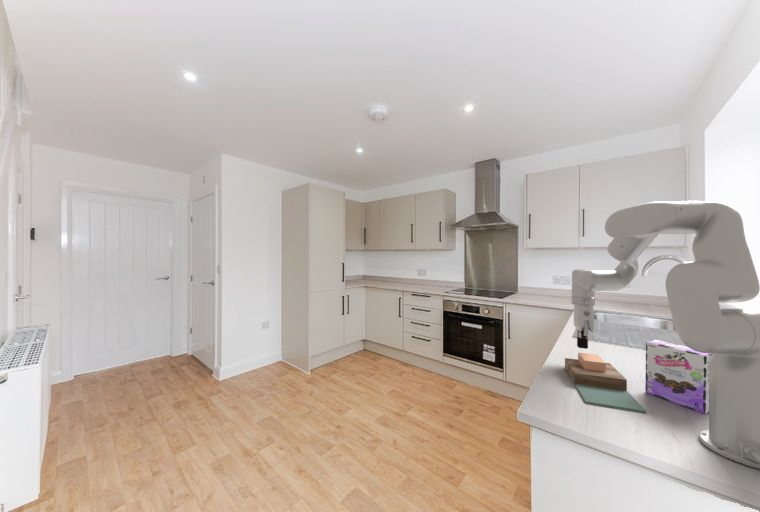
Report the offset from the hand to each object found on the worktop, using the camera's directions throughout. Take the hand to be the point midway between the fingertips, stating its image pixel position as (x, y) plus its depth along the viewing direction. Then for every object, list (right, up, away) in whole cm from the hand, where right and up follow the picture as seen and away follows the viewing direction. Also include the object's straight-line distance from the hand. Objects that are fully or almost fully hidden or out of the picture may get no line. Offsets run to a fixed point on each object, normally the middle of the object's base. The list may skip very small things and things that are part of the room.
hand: (582, 347), depth 113 cm
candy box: (+10, -8, -27) cm, 30 cm away
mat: (-10, -7, -25) cm, 28 cm away
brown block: (-5, -7, -12) cm, 15 cm away
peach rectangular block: (-4, -3, -10) cm, 11 cm away
